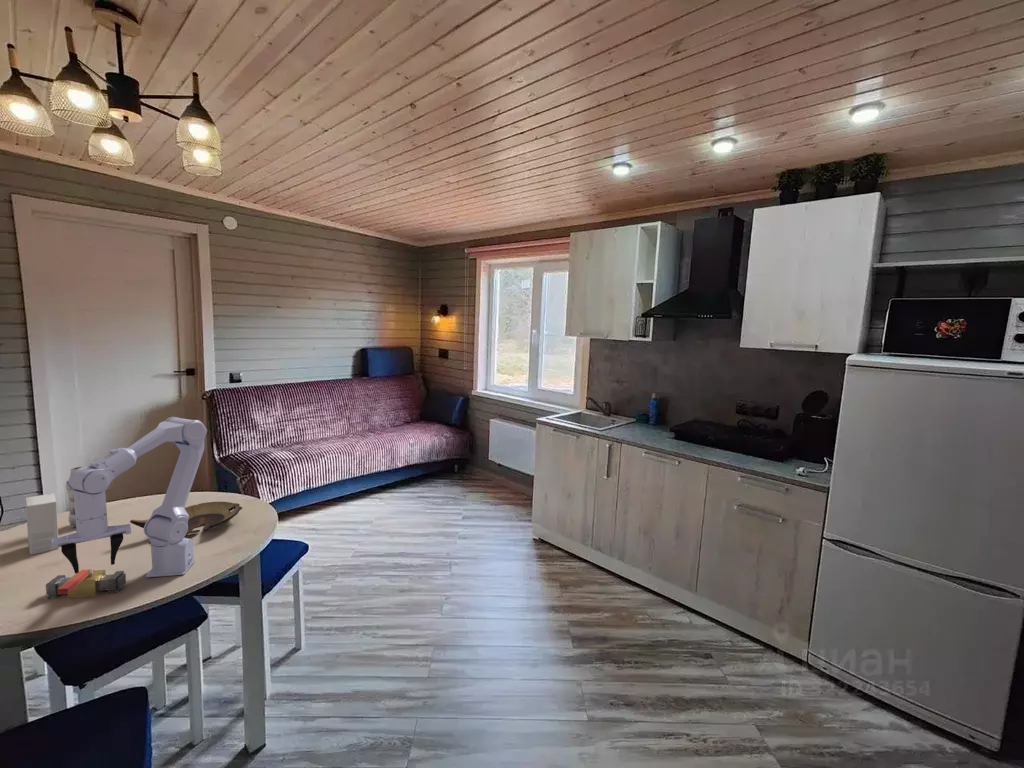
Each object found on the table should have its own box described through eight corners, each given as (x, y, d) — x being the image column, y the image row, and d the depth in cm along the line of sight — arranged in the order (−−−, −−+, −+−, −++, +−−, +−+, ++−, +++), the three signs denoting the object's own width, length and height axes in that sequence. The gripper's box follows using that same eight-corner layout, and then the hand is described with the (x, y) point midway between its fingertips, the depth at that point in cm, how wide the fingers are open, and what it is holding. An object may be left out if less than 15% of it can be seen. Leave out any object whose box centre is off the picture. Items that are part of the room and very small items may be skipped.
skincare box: (28, 545, 143) (24, 497, 141) (58, 539, 148) (54, 492, 146) (29, 556, 137) (25, 505, 135) (60, 548, 142) (56, 500, 140)
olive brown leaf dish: (237, 536, 156) (236, 515, 155) (125, 549, 144) (124, 526, 143) (245, 510, 176) (245, 491, 175) (148, 520, 164) (147, 499, 163)
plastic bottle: (98, 524, 159) (95, 468, 156) (72, 531, 153) (68, 473, 151) (92, 519, 162) (88, 464, 160) (66, 525, 157) (61, 468, 154)
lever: (83, 572, 123) (83, 567, 122) (94, 571, 123) (94, 566, 123) (57, 594, 113) (56, 589, 113) (69, 593, 113) (68, 588, 113)
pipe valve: (128, 583, 127) (127, 567, 126) (118, 593, 122) (117, 576, 122) (56, 589, 123) (55, 572, 122) (43, 599, 118) (42, 582, 117)
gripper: (128, 503, 122) (131, 552, 124) (51, 517, 112) (55, 569, 114) (130, 512, 117) (133, 563, 119) (49, 527, 107) (53, 582, 109)
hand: (95, 567), depth 116 cm, fingers open, 6 cm apart
